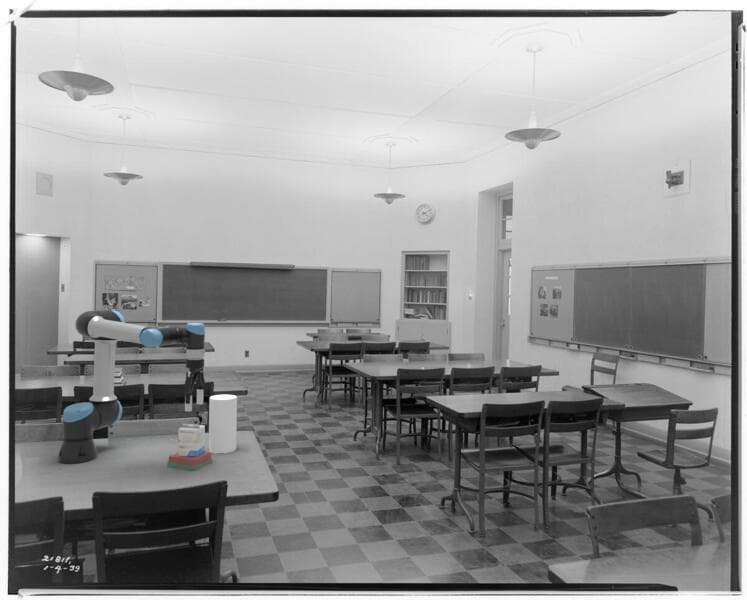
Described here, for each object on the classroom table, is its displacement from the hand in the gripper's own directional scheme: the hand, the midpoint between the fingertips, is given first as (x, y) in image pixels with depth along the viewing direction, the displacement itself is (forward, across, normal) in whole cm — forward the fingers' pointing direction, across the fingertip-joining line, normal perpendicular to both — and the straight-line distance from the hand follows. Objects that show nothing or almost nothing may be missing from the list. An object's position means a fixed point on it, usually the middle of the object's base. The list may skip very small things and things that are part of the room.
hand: (194, 407), depth 239 cm
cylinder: (+24, +21, -6) cm, 33 cm away
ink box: (+20, -1, 0) cm, 20 cm away
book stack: (+25, -1, +1) cm, 25 cm away
